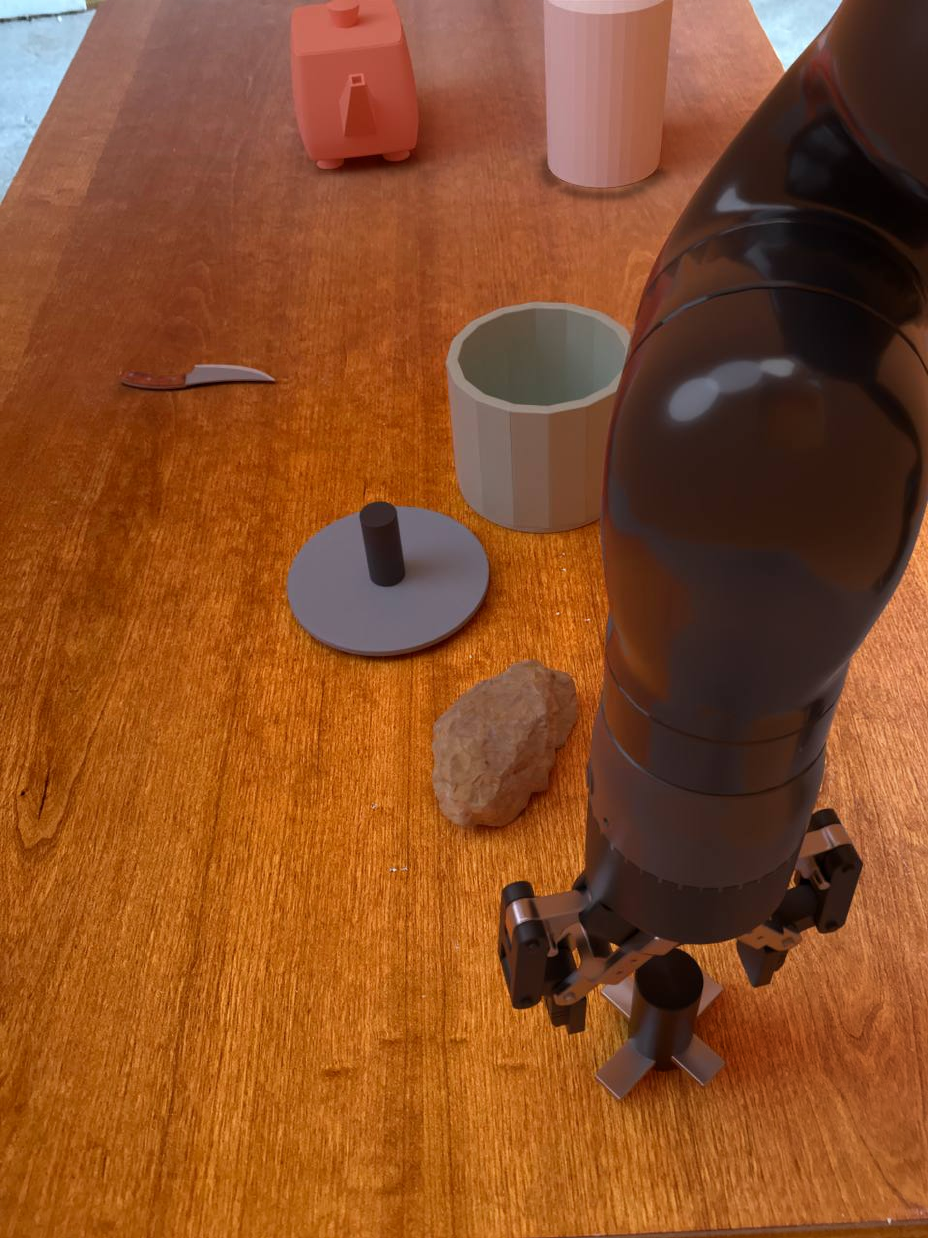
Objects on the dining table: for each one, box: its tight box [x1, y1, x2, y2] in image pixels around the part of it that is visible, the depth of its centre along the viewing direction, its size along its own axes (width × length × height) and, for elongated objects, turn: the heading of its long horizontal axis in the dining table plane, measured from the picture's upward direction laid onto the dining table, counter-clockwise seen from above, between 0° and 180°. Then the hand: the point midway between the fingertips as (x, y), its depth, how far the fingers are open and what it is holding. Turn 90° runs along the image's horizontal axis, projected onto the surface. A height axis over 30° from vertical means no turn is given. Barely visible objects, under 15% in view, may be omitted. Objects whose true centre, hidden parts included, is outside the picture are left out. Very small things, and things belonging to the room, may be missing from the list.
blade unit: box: [593, 947, 726, 1103], centre depth 53 cm, size 8×6×7 cm
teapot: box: [290, 0, 419, 170], centre depth 116 cm, size 22×13×14 cm, turn 7°
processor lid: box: [286, 500, 490, 657], centre depth 75 cm, size 14×14×7 cm
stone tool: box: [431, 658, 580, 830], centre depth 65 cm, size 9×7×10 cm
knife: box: [117, 364, 276, 390], centre depth 94 cm, size 13×1×3 cm
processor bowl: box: [445, 301, 631, 534], centre depth 80 cm, size 13×13×10 cm
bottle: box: [543, 0, 674, 189], centre depth 107 cm, size 12×12×25 cm
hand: (661, 990), depth 51 cm, fingers open, 8 cm apart
